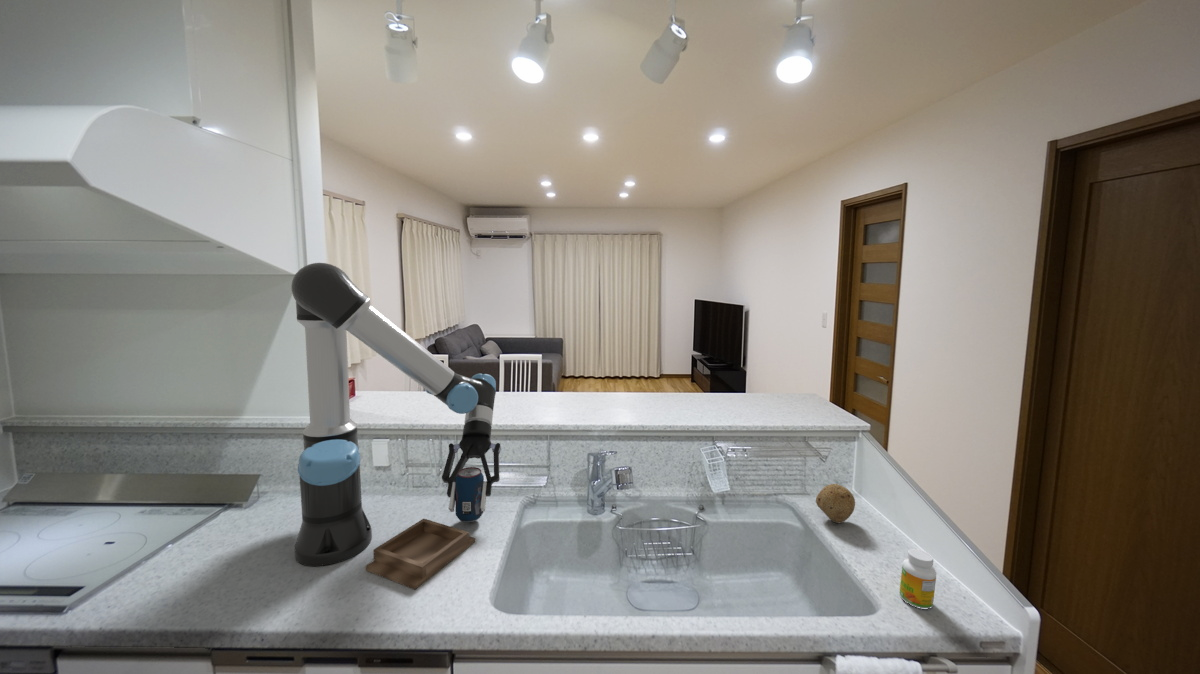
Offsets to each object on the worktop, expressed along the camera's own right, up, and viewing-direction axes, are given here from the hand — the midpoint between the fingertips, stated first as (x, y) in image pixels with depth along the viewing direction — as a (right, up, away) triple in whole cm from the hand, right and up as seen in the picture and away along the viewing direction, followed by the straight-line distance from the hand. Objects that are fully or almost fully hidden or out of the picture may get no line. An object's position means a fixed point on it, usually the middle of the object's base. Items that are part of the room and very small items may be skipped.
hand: (467, 509), depth 108 cm
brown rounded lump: (+95, -6, +7) cm, 95 cm away
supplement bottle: (+95, -10, -22) cm, 98 cm away
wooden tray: (-7, -6, -10) cm, 14 cm away
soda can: (0, -4, +4) cm, 5 cm away
